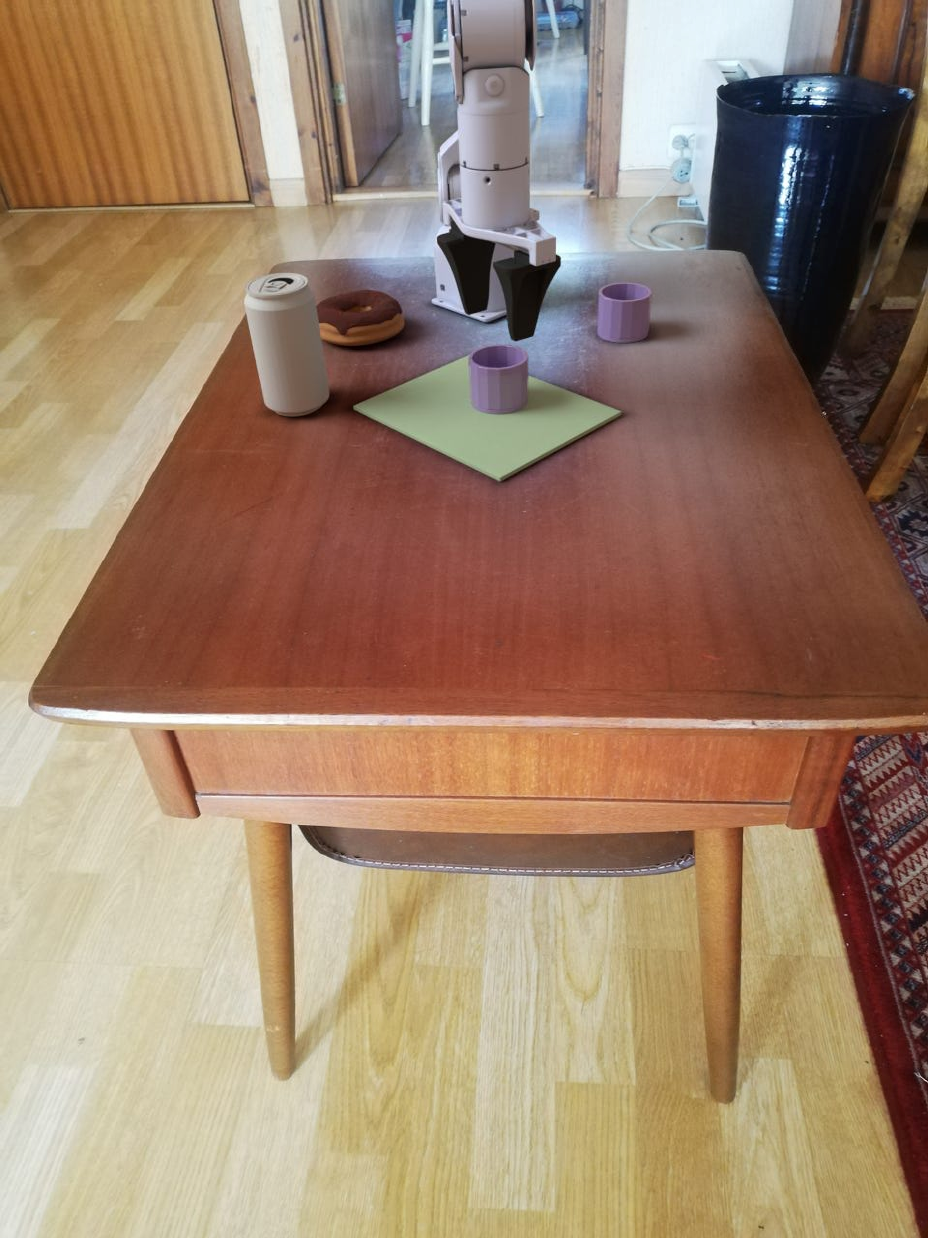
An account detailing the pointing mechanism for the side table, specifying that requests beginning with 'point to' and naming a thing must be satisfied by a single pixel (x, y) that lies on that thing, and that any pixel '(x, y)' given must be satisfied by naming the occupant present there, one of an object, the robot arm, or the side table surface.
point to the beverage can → (287, 343)
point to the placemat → (485, 420)
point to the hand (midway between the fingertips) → (498, 324)
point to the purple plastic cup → (498, 379)
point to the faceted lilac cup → (623, 312)
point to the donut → (359, 318)
